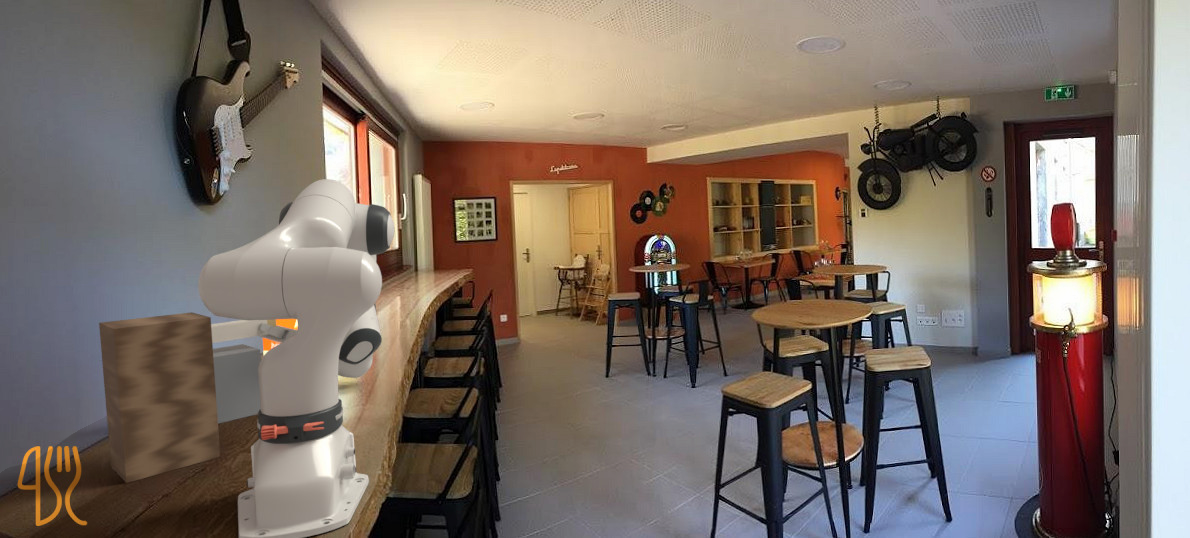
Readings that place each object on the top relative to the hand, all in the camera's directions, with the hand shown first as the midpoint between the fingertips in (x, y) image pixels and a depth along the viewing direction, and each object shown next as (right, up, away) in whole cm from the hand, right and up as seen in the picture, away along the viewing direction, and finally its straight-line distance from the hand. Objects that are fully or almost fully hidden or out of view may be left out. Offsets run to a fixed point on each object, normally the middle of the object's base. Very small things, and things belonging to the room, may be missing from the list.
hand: (255, 324), depth 139 cm
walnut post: (+1, -22, -30) cm, 37 cm away
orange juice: (-6, -17, +28) cm, 33 cm away
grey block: (-4, -20, -3) cm, 20 cm away
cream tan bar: (-4, -3, -4) cm, 7 cm away
